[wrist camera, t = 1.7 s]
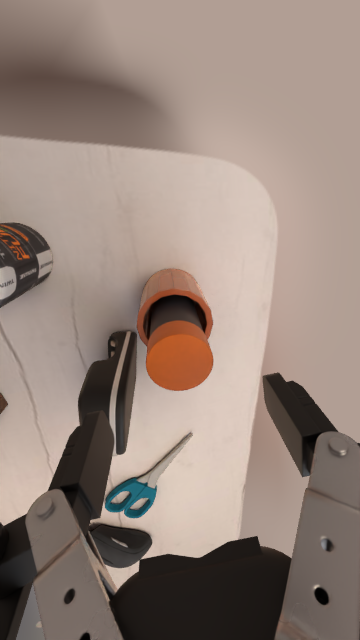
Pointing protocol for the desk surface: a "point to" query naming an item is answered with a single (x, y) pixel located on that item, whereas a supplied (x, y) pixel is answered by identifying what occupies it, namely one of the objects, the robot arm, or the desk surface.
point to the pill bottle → (21, 260)
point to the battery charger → (112, 387)
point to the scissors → (142, 487)
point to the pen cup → (168, 285)
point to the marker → (177, 345)
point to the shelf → (2, 403)
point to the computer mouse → (120, 545)
